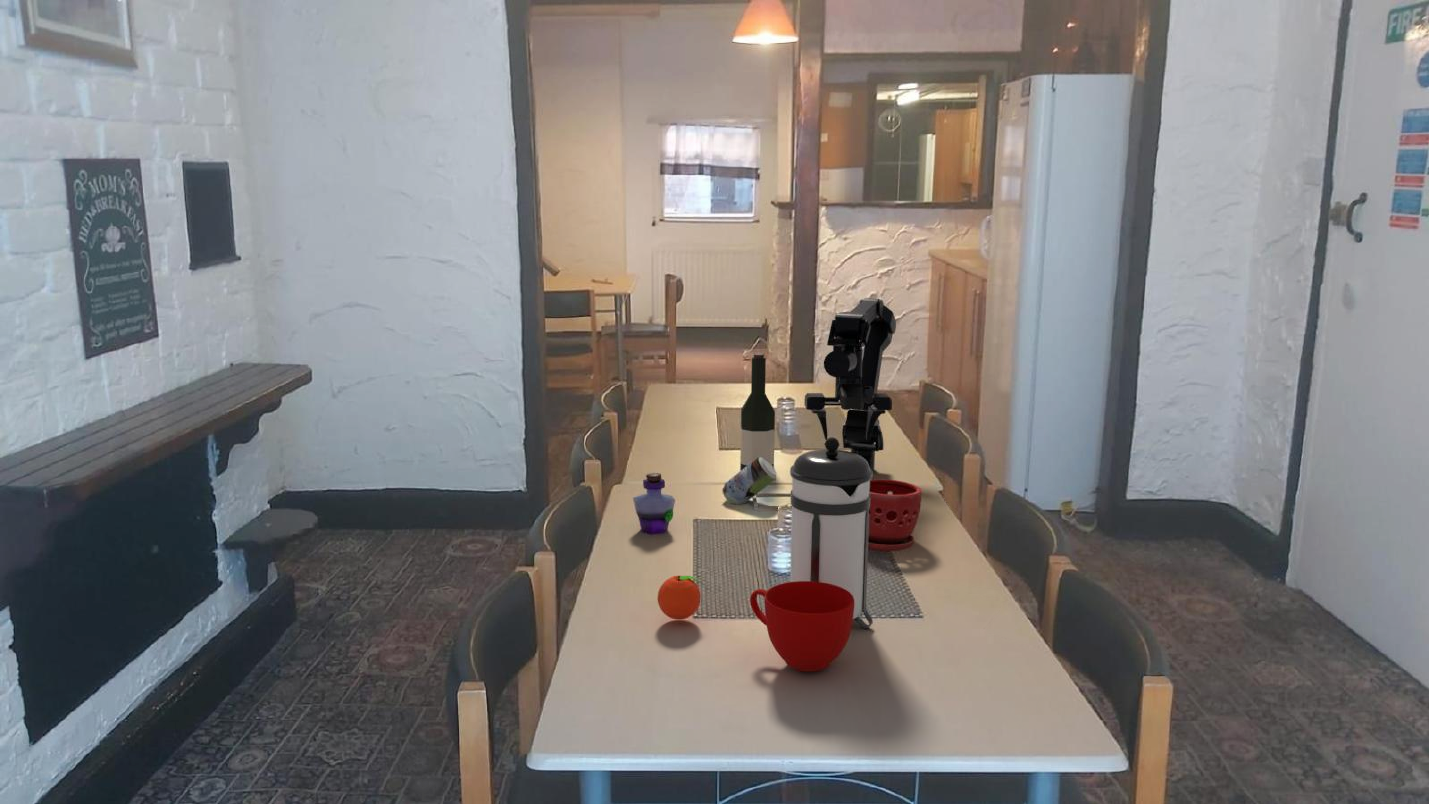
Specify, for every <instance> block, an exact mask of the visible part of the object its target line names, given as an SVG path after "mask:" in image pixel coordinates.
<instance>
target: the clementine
mask: <svg viewBox="0 0 1429 804" xmlns="http://www.w3.org/2000/svg"><path fill="white" fill-rule="evenodd" d="M694 580H696V581H700V582H701V579H699V578H697V577H695V576H691V575H673V576H670V577H669V578H666V579H665V581H664V582H663V583H662V584H661V585H660V587H659V589H658V591H657V604H658V606H659V608H660V611H661V612H662V613H663V614H664V615H666V616H667V617H668V618H670V619H673V620H685V619H688V618H689V617H692V616H693V615H694V614H695V613H696V611H698V609H699V606H700V604H701V598H702V597H701V591H700V589H699V586H698V584H697V583H696V582H695V581H694ZM702 584H703V586H704V589H706V586H705V584H704V583H702Z"/></svg>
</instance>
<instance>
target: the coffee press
mask: <svg viewBox="0 0 1429 804" xmlns="http://www.w3.org/2000/svg"><path fill="white" fill-rule="evenodd" d="M823 445H824V447H825V449H816V450H815V449H814V450H810V451H807V452H804V453H802V454H801V455H799V456H798V457H797V458H796V459H795V461H794V463H793V465H791V467H790V468H789V469H790V470H789V474H790V477H791V478H792V482H791V483H792V484H791V485H792V487H791V491H790V493H791V496H790V506H792V510H791V520H790V521H791V523H790V524H791V525H790V528H791V529H790V531H791V532H790V565H789V567H790V571H789V573H790V574H789V576H790V577H789V582H796V581H814V582H822V583H828V584H832V585H836V586H839V587H841V588H843V589H845V590H847V591H848V592H850V593H851V594H852V595H853V598H854V614H853V621H856V622H857V623H858V624H859V625H860V626H861V627H862V628H863V629H865V630H866V629H870V627H871V626H872V625H873V623H874V621H873V618H872V617H871V615H870V613H869V612H868V608H867V592H868V591H867V589H868V588H867V587H868V563H869V562H868V560H869V558H868V557H869V548H868V537H869V508H870V502H871V494H870V492H869V488H870V480H871V479H873V477H874V475H873V472H874V471H872V470H871V469H870V468H869V464H868V462H867V461H866V460H865V459H864V458H863V457H861V456H860V455H858V454H855V453H852V452H851V451H849V450H842V449H839V446H840V442H839V440H838V439H837V438H836V437H833V436H832V437H829V438H828V437H827V440H825V443H824V444H823ZM862 613H863V615H864V617H865V619H866V620H867V621H868V624H867V623H866V622H865V621H864V620H863V619H862V618H861V617H860V616H861V615H862Z"/></svg>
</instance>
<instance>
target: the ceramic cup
mask: <svg viewBox="0 0 1429 804" xmlns="http://www.w3.org/2000/svg"><path fill="white" fill-rule="evenodd" d="M758 595H760V596H763V597H764V612H763V611H762V609H761V608H760V606H759V604H758V603H759V602H758V600H757V599H758ZM749 598H750V599H749V603H750V606H751V609H752V610H751V611H752V612H753V614H754V615H755V617H756V618H757V619H758V621H760V622H761V623H763V624H764V625H765V626H766V630H767V633H768V637H769V640H770V642H771V644H772V646H773V648H774V649H775V651H776V653H777V654H778V655H779V656H780V658H781V659H782V660H783V661H784V662H785V664H786V665H787V666H788V667H790V668H791V669H795V670H798V671H803V672H817V671H821V670H825V669H827V668H828V667H830V665H831V664H832V663H833V662H834V661H835V660H836V659H837V658H838V657H839V656H840V655H841V653H842V652H843V650H844V649H845V648H846V645H847V643H848V641H849V638H850V635H851V630H852V627H853V626H852V625H853V621H854V620H853V614H854V598H853V595H852V594H851V593H850V592H848V591H847V590H845V589H843V588H841V587H839V586H836V585H832V584H828V583H822V582H814V581H796V582H790V581H788V582H784V583H779V584H777V585H776V584H775V585H774V586H772V587H770V588H769V589H768V590H766V589H763V588H757V589H755V590H754V591H753V592H752V593H751V594H750V597H749Z"/></svg>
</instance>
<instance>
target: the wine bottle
mask: <svg viewBox="0 0 1429 804" xmlns="http://www.w3.org/2000/svg"><path fill="white" fill-rule="evenodd" d="M766 361H767V358H766V357H765V354H764V353H759V352H758V353H753V357H752V356H751V379H750V380H751V387H750V390H751V391H750V393H749V396H748V397H747V399H746V401H745V402H744V404H742V407H741V408H740V456H739V457H740V471H741V470H743V469H744V468H745V467H746V466H748V465H749V464H750V463H752V462H753V461H754V460H755V459H757V458H758V457H761V458H765V459H767V460H768V461H769V462H770V463H771V464H772V466H773V467H774V468H775V435H776V433H775V432H776V431H775V425H776V419H775V418H776V411H775V409H774V408H773V405H772V403H771V402H770V400H769V398H768V396H767V394H766V365H767V364H766Z"/></svg>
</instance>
